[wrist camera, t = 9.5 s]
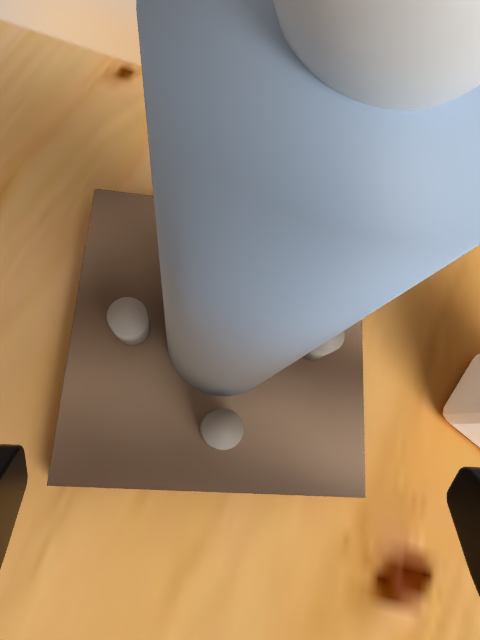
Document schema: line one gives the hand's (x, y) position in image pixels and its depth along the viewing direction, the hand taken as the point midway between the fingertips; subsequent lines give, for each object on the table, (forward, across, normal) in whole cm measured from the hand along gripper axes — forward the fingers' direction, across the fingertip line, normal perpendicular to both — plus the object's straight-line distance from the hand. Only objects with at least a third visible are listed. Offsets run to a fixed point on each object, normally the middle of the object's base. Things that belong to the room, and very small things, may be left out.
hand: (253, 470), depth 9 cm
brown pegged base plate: (+10, 0, +3) cm, 10 cm away
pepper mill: (+9, 0, +2) cm, 9 cm away
